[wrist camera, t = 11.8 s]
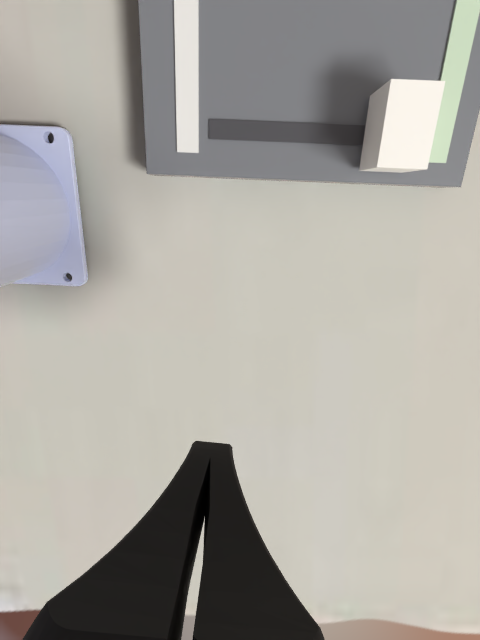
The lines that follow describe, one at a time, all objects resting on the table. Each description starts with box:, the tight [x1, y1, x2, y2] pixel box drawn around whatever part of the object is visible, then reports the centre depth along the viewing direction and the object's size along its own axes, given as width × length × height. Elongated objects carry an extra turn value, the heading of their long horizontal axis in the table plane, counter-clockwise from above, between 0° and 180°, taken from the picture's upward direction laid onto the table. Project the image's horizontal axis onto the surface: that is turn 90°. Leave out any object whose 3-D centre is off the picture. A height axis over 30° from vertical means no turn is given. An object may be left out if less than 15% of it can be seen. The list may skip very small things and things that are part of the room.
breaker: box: [359, 79, 445, 173], centre depth 14 cm, size 2×3×2 cm, turn 177°
